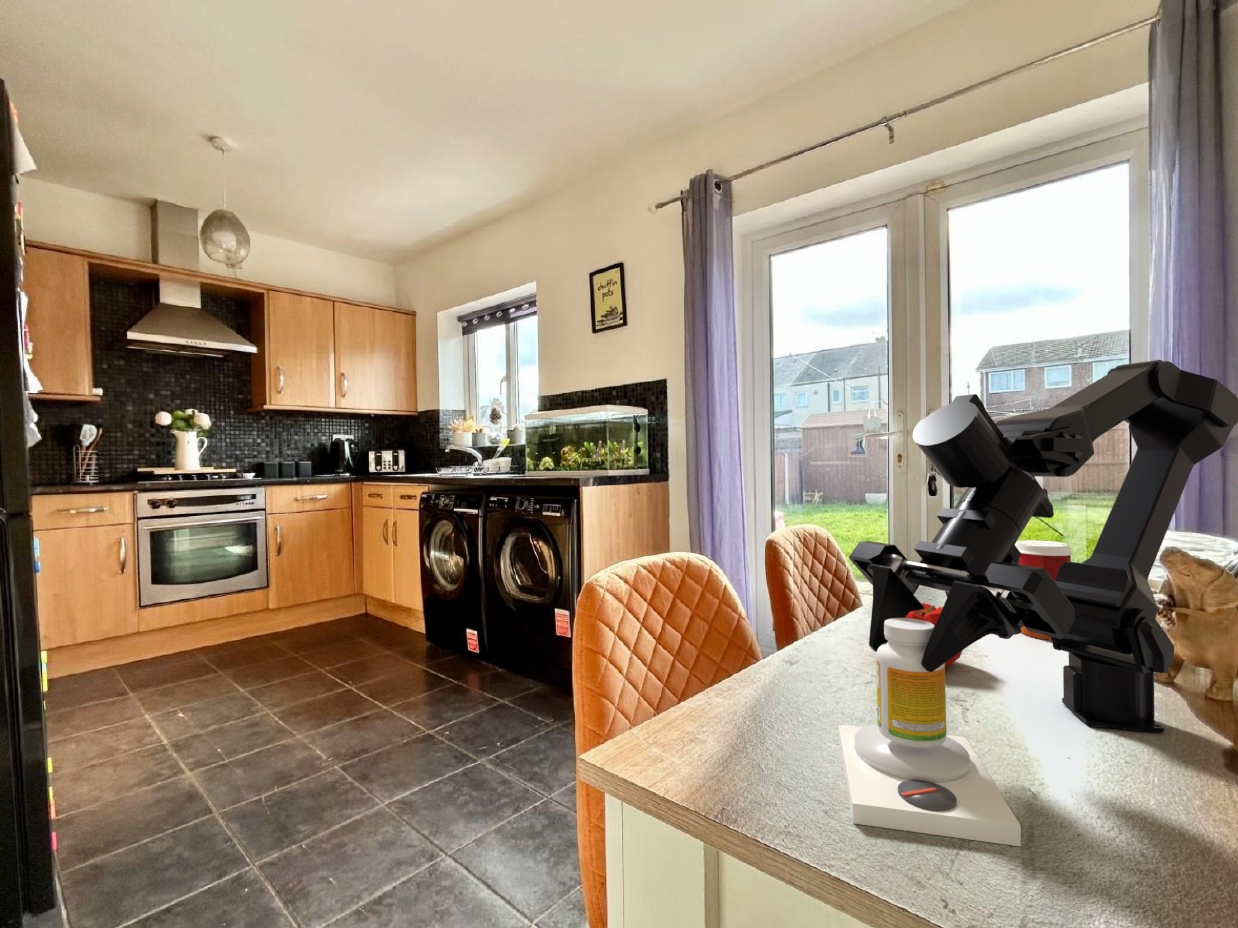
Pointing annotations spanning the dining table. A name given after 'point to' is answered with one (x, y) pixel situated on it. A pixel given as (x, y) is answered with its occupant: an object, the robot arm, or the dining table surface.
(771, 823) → the dining table surface
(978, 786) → the kitchen scale
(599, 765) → the dining table surface
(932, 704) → the supplement bottle
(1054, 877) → the dining table surface
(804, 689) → the dining table surface
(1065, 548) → the paper cup
